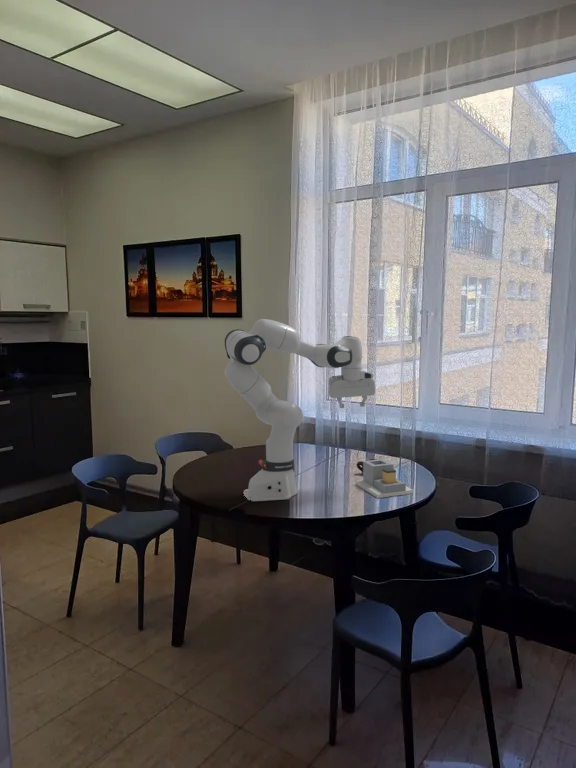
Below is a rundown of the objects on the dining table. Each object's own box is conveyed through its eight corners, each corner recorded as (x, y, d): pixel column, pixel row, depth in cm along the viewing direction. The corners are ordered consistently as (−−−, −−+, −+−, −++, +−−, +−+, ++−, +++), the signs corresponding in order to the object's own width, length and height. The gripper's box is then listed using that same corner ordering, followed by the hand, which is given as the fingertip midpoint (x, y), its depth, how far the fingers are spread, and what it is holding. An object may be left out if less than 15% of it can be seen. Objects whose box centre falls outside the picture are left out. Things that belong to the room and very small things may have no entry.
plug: (387, 490, 214) (387, 471, 214) (382, 487, 218) (382, 468, 217) (395, 489, 216) (395, 470, 215) (391, 486, 219) (391, 467, 219)
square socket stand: (377, 498, 210) (377, 473, 209) (356, 484, 229) (356, 461, 228) (413, 493, 215) (413, 469, 214) (389, 480, 234) (389, 458, 233)
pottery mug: (379, 472, 249) (384, 459, 245) (379, 485, 241) (383, 473, 237) (354, 465, 250) (359, 452, 245) (353, 479, 242) (357, 466, 237)
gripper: (331, 376, 216) (332, 410, 218) (376, 374, 222) (377, 406, 224) (326, 375, 222) (326, 407, 223) (370, 372, 228) (370, 404, 230)
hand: (352, 407), depth 224 cm, fingers open, 8 cm apart
